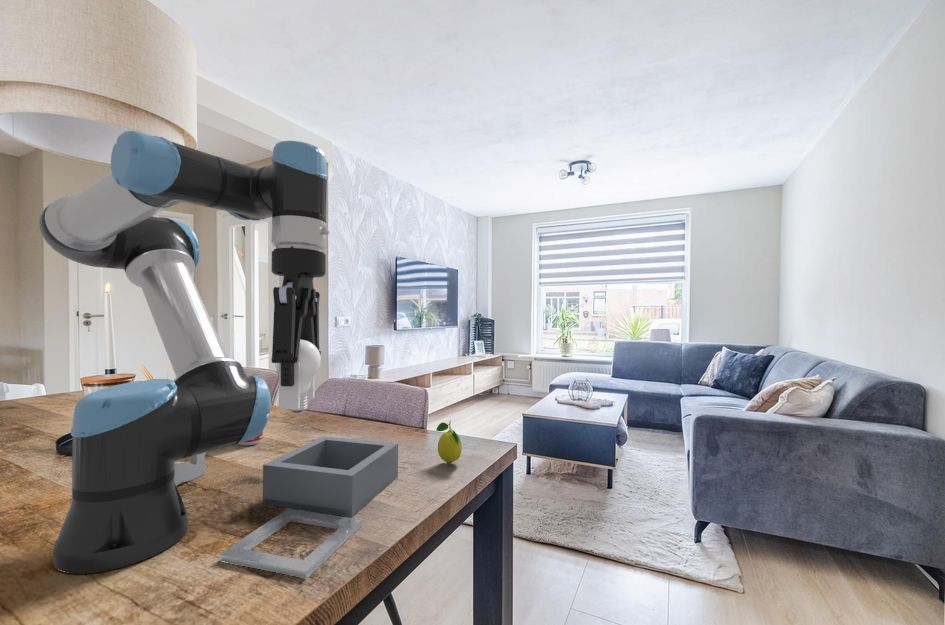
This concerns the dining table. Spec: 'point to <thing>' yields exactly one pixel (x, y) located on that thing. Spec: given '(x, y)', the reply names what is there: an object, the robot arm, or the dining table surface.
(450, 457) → the lemon
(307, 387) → the lightbulb
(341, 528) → the grey square frame
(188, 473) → the light grey hook
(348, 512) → the bin
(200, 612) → the dining table surface
